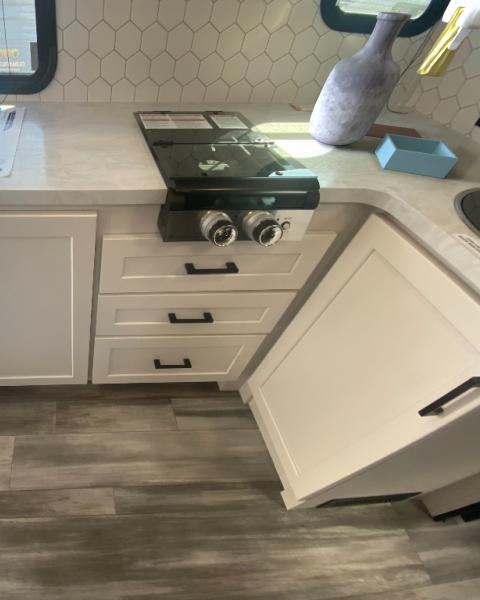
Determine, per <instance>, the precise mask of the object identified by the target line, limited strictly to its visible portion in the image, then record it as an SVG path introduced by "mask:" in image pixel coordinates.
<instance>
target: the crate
mask: <svg viewBox="0 0 480 600" xmlns="http://www.w3.org/2000/svg"><path fill="white" fill-rule="evenodd" d="M374 154H375V156H376V157H377V160H378V162H379V164H380V165H381V167H382V169H383V170H389V171H394V172H401V173H405V174H406V173H407V174H411V175H412V174H414V175H418V176H419V175H420V176H425V177H432V178H437V179H444V178H445V177H446V176H447V174H448V173H449V172H450V171H451V169H452V168H453V167H454V166H455V165H456V163H457V162H458V161H459V157H458V156H457V155H456V154H455V153H454V151H452V149H451V148H450V147H448V145H447V144H446V143H445V142H444V141H443V140H436V139H429V138H423V137H422V138H416V137H409V136H401V135H394V134H387V133H386V134H385V135H384V137H383V138H381V140H380V141H379V144H378V145H377V147H376V148H375V150H374Z"/></svg>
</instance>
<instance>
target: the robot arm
mask: <svg viewBox="0 0 480 600" xmlns="http://www.w3.org/2000/svg"><path fill="white" fill-rule="evenodd" d="M457 7H464V8H465V9H464V11H463V12H462V14H461V15H460V17H459V18H458V20H457V22H456V26H459V27H460V28H459V30H458V33H457V34H456V36H455V37H454V38H453V40H451V41H450V43H449V45H448V46H447V49H449V50H455V49H457V47H458V46H459V44H460V43H461V41H462V40H463V39H464V38H465V37H466V36H467V37H468V35H469V34H470V33H471V31H472V30H480V0H450V1H449V3H448V6H446V9H445V10H444V12H443V16H442V18H441V19H442V20H441V21H442V22H443V23H446V24H448V22H449V20H450V19H451V17H452V15H453V14H454V12H455V10H456V9H457ZM467 37H466V38H467Z"/></svg>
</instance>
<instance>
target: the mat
mask: <svg viewBox="0 0 480 600" xmlns="http://www.w3.org/2000/svg"><path fill="white" fill-rule="evenodd" d="M386 133H387V134H394V135H401V136H409V137H416V138H423V137H422V135H420V133H419V132H418V131H417V130H416V129H415V128H411V127H405V126H397V125H389V124H381V123H374V124H373V125H372V126H371V128H370V129H369V131H368V132H367V133H366V134H365V135H364V137H365V136H366V137H373V138H380V139H382V138H383V137H384V135H385V134H386Z"/></svg>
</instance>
